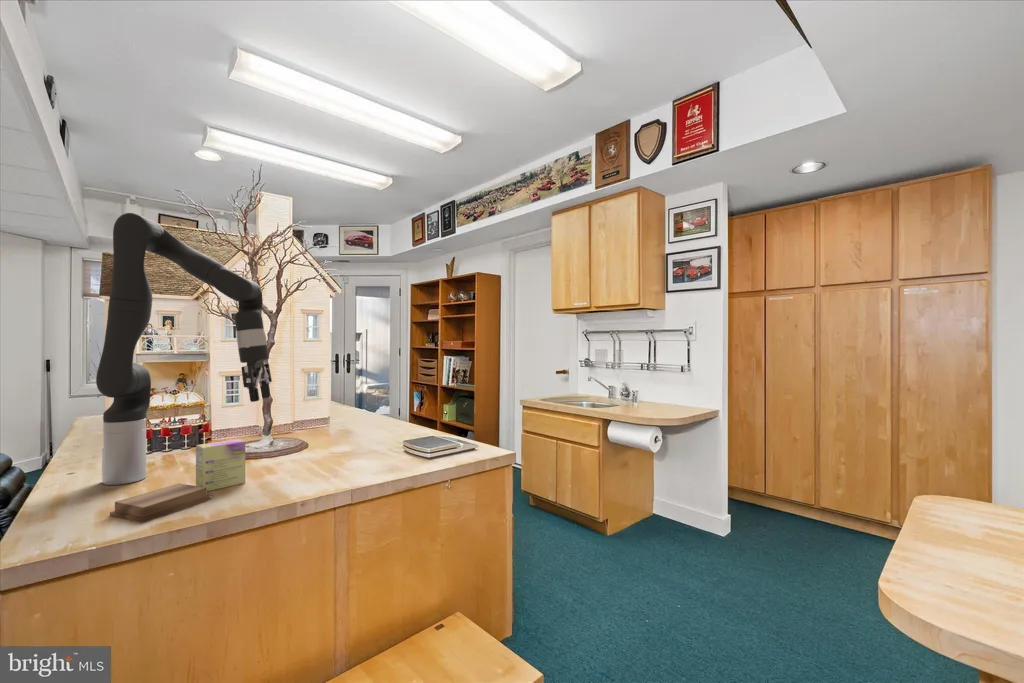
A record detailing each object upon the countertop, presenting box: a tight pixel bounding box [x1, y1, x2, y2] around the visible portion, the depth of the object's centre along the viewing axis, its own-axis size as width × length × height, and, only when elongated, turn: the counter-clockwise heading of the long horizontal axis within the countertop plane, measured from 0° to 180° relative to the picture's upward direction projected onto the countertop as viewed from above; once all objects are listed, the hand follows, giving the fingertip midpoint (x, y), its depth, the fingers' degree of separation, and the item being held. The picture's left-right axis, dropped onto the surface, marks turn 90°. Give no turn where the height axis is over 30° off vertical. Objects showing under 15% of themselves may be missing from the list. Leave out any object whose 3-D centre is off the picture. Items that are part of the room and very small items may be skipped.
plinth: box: [109, 483, 212, 523], centre depth 106 cm, size 11×15×3 cm
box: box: [195, 438, 246, 492], centre depth 121 cm, size 10×6×12 cm, turn 141°
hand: (260, 399), depth 132 cm, fingers open, 8 cm apart
